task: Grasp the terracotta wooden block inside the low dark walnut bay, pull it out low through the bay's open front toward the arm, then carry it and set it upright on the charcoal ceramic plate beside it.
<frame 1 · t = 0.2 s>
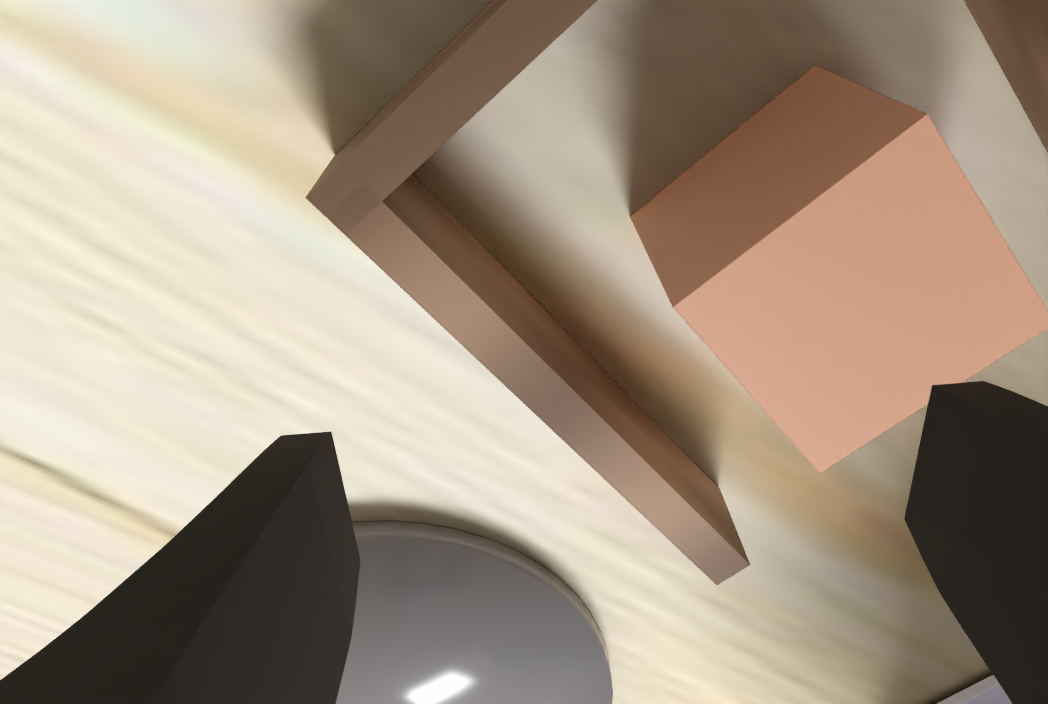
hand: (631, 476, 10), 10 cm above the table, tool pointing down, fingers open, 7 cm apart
terracotta block: (777, 222, 18), on the table
walnut bay: (779, 224, 18), on the table
charcoal plate: (395, 687, 25), on the table
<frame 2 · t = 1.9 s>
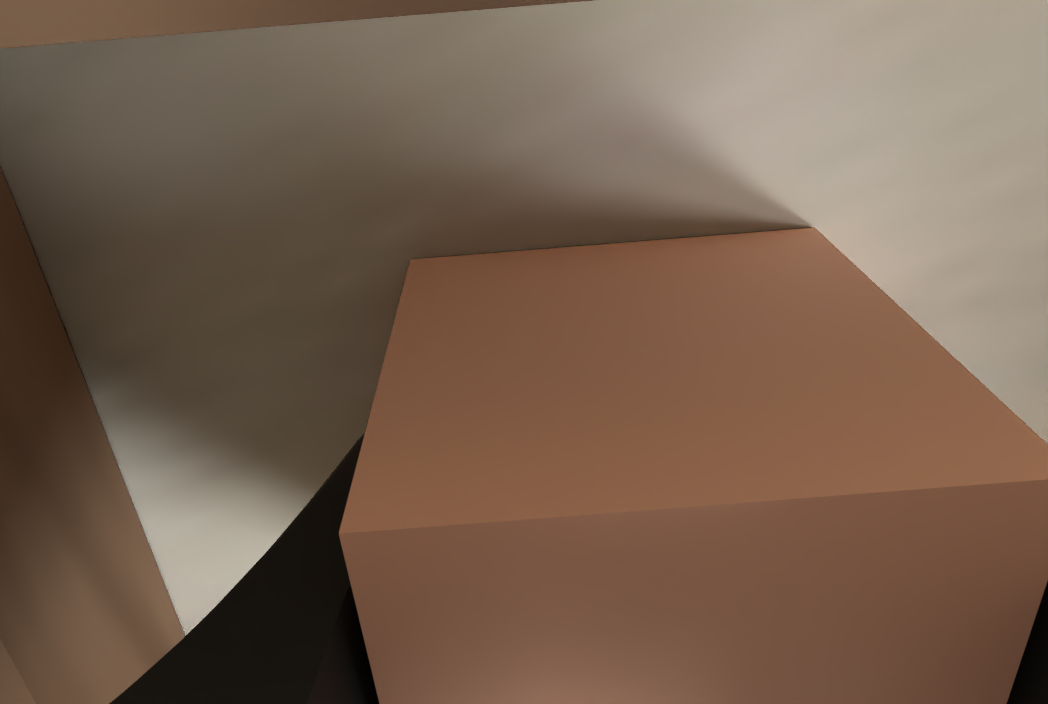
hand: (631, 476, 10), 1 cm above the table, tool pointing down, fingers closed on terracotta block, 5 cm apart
terracotta block: (615, 413, 11), on the table, touching gripper
walnut bay: (615, 414, 11), on the table
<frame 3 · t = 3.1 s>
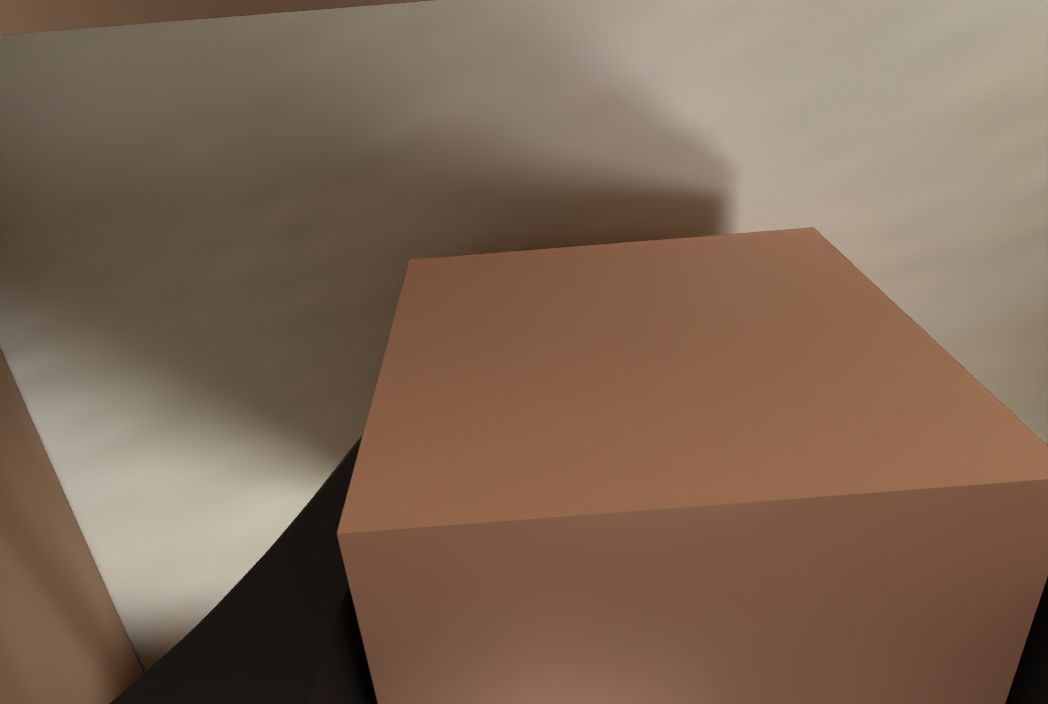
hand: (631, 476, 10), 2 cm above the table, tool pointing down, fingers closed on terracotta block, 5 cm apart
terracotta block: (614, 413, 11), point 1 cm above the table, touching gripper
walnut bay: (499, 386, 12), on the table
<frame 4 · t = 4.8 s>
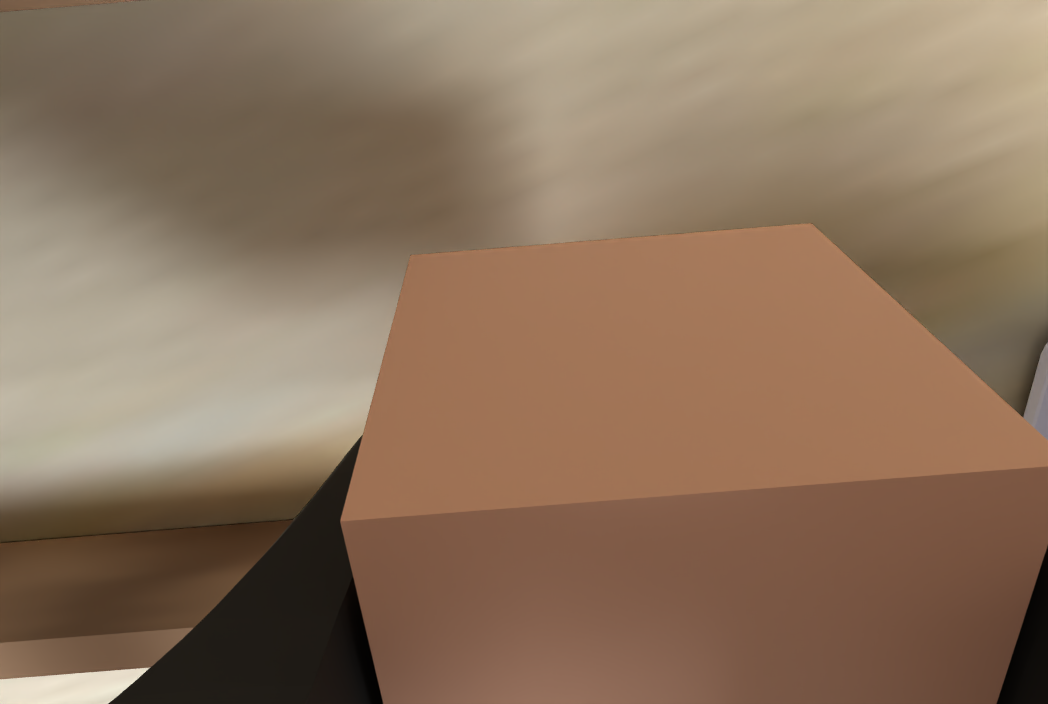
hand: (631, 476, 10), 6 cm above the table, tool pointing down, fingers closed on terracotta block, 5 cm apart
terracotta block: (614, 408, 11), point 5 cm above the table, touching gripper
walnut bay: (141, 308, 15), on the table
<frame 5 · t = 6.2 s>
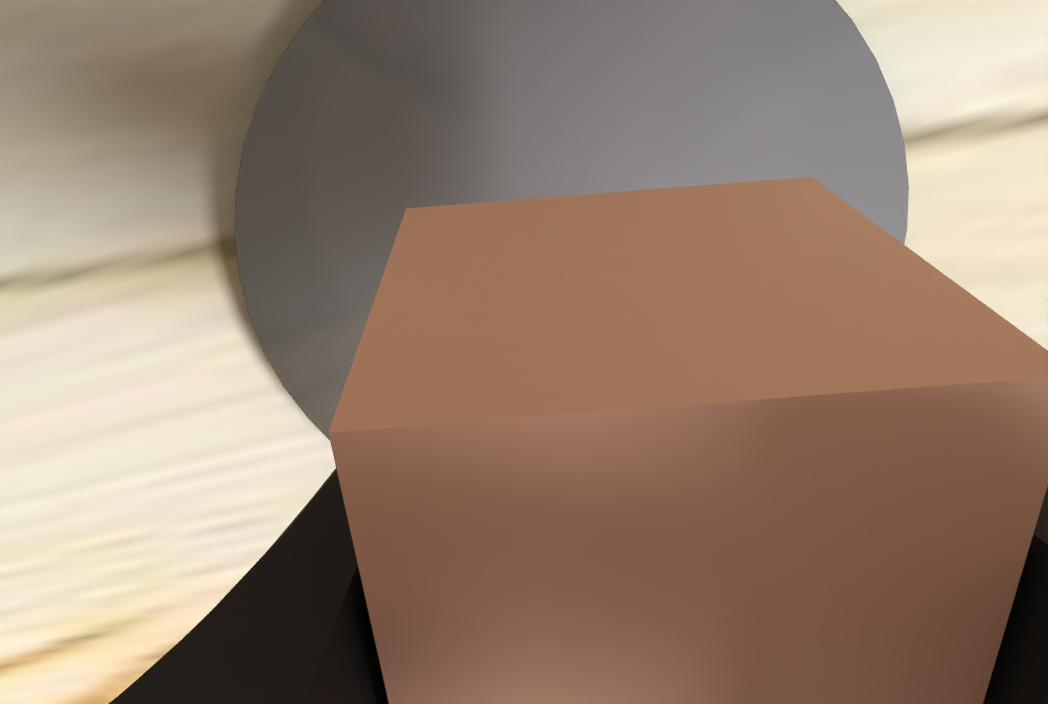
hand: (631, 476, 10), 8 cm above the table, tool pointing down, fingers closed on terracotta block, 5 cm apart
terracotta block: (612, 369, 11), point 7 cm above the table, touching gripper
charcoal plate: (570, 258, 17), on the table
when the fingers open (4 cm above the table, at t = 7.7 s): terracotta block drops 1 cm, resting on charcoal plate.
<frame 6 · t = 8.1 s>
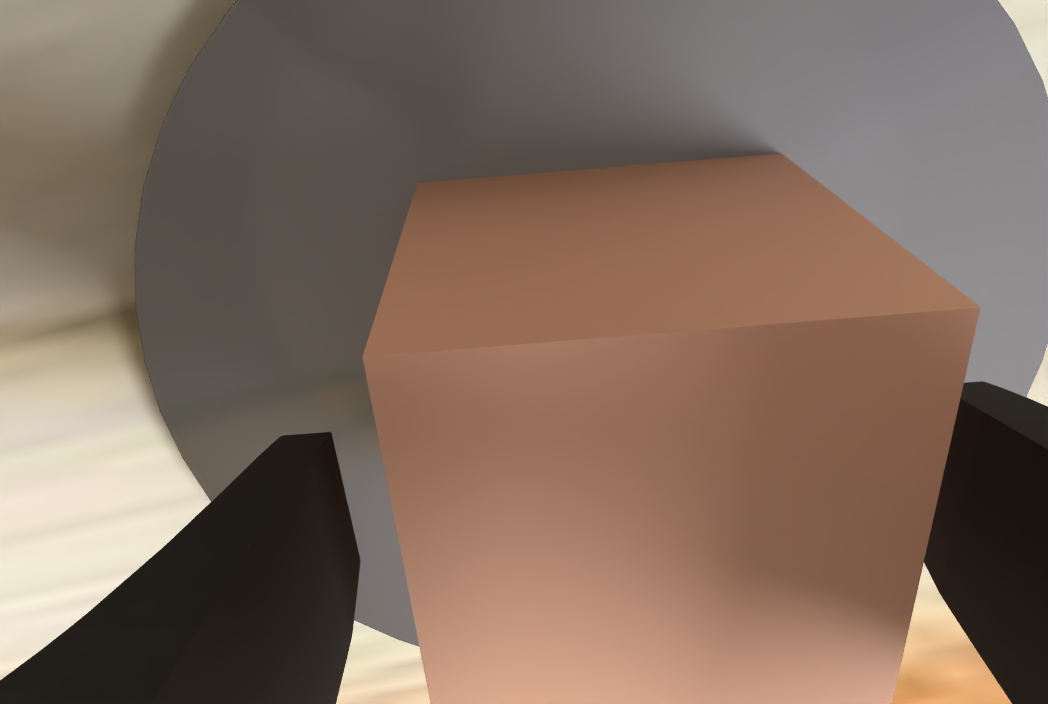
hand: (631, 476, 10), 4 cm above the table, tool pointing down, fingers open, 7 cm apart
terracotta block: (603, 330, 12), point 1 cm above the table, touching charcoal plate
charcoal plate: (596, 337, 13), on the table
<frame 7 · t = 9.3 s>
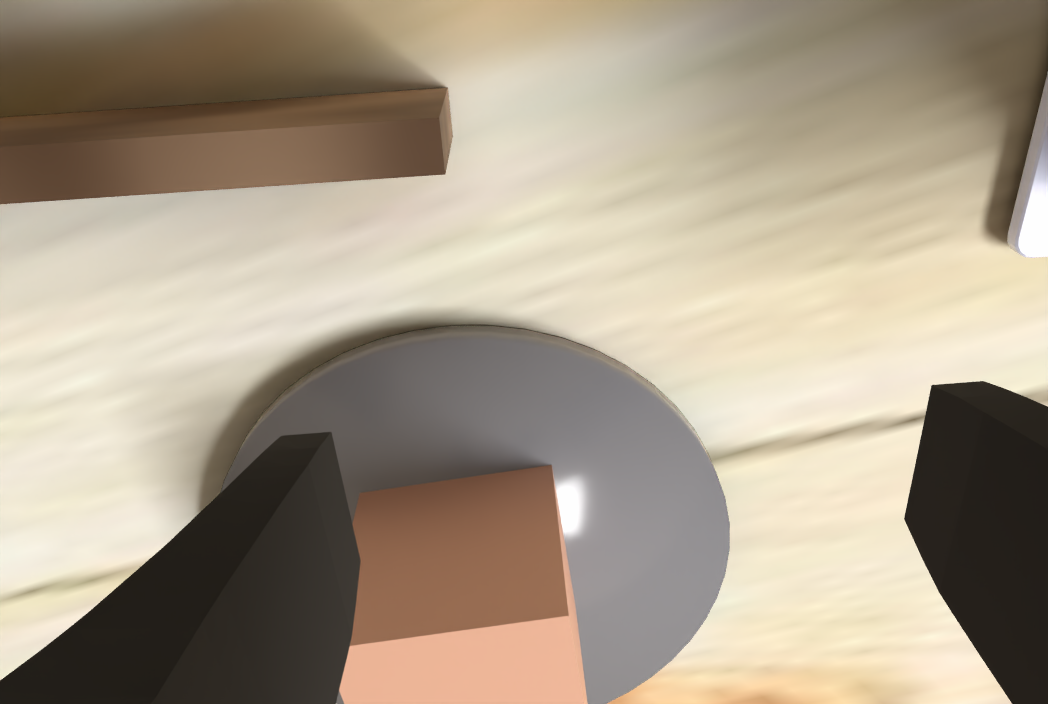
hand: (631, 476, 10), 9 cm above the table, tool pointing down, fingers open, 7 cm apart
terracotta block: (473, 551, 21), point 1 cm above the table, touching charcoal plate
charcoal plate: (476, 546, 22), on the table
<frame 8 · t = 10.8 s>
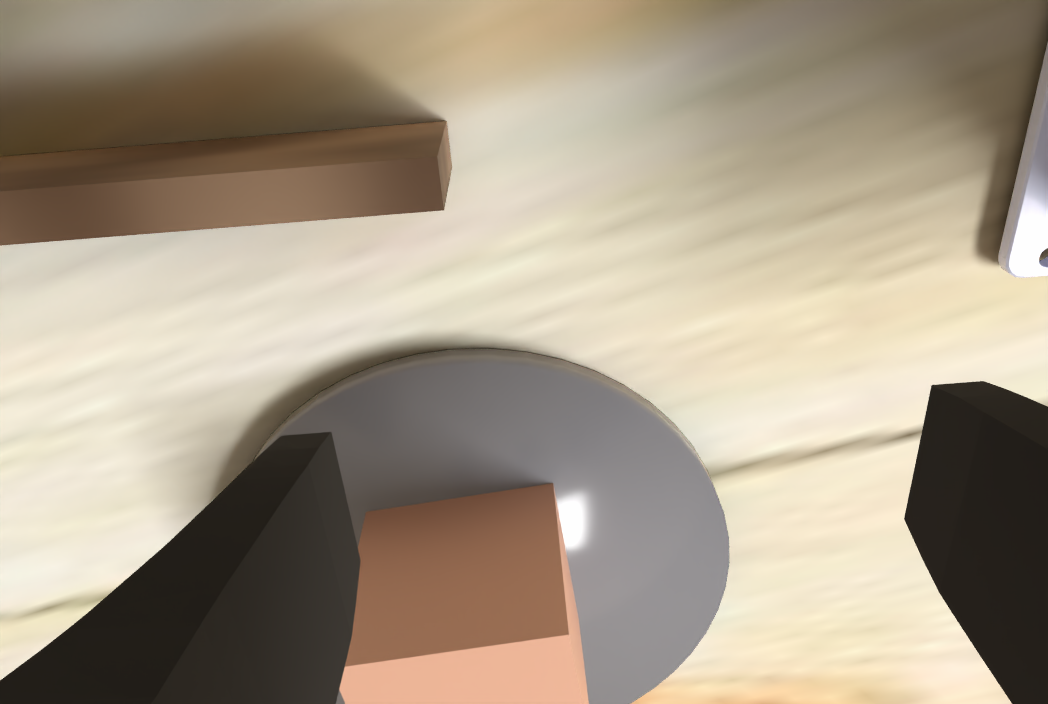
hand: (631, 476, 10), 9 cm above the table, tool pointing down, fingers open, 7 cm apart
terracotta block: (477, 567, 22), point 1 cm above the table, touching charcoal plate
charcoal plate: (480, 561, 23), on the table
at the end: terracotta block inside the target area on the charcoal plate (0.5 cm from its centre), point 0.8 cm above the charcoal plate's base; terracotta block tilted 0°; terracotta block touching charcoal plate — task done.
